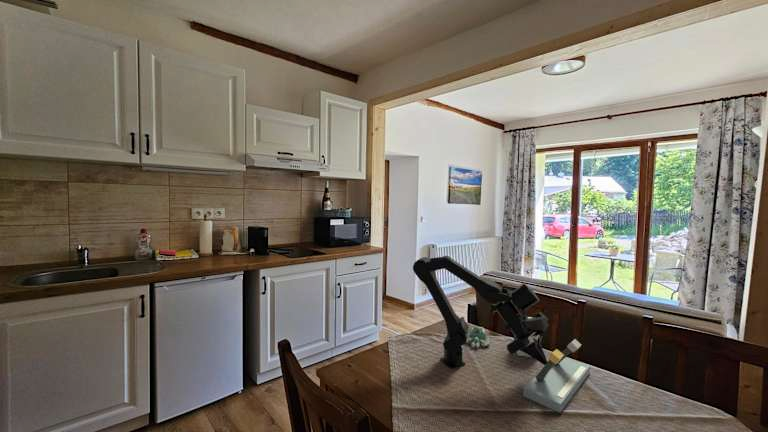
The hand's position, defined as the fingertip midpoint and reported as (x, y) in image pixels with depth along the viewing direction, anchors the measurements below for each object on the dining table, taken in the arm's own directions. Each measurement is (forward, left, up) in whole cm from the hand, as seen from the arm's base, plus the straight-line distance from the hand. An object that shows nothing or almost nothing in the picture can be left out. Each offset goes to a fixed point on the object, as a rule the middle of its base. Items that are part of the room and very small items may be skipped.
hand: (546, 364), depth 97 cm
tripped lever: (-1, 0, -4) cm, 4 cm away
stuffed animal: (-33, +2, -8) cm, 34 cm away
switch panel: (-1, +7, -8) cm, 11 cm away
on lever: (-6, +13, -4) cm, 15 cm away
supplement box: (-20, +15, -8) cm, 26 cm away
